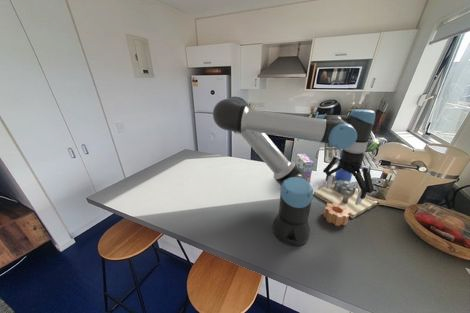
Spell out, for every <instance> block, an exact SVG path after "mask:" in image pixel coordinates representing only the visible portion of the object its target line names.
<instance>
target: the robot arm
mask: <svg viewBox="0 0 470 313" xmlns="http://www.w3.org/2000/svg"><path fill="white" fill-rule="evenodd" d="M376 115H377V114H376V112H375V111H374V110H371V109H361V108H360V109H359V108H358V109H353V110H351V113H350V114H347V115H343V114H341V115H340V114H339V115H338V114H327V113H326V114H317V115H316V116H315V117H309V116H301V115H295V114H294V115H293V114H288V113H279V112H272V111H263V110H256V109H250V105H249V103H248V101H246V100H245V99H244V98H242V97H240V96H231V97H228V98H225V99H221V100H219V101H218V102H217V103H216V104H215V105H214V108H213V111H212V118H213V121H214V122H215V125H217V127H219V128H220V129H222V130H224V131H228V132H233V133H234V134H236V135H240V136H241V137H242V138H243V139H244V140H245V141H246V143H247V144H248V145H249V146H250V147H251V148H252V150H253V151H254V152H255V153H256V155H258V156H259V158H261V160H263V162H264V163H265V164H266V166H267V167H268V168H269V169H270V170H271V171H272V173H273V178H274V180H275V181H276V182H277V183H278V185H279V186H280V193H279V194H280V195H279V204H278V205H279V206H278V213H277V215H276V217H275V219H273V223H272V233H273V234H274V236H275V237H276V238H277V239H278V240H279V241H281V243H283V244H285V245H289V246H294V247H298V246H299V247H300V246H303V245H305V244H306V243H307V242H308V241H309V240H310V237H311V236H310V235H311V229H310V226H309V215H310V211H311V206H312V201H313V199H314V188H313V186H312V185H311V182H310V183H309V182H307V176H306V173H305V172H304V170H303V169H302V168H301V167H299V166H297V165H296V162H295V161H289V160H288V158H287V157H286V156H285V155H284V154H283V152H282V151H281V150H280V149H279V148H278V146H277V145H276V144H275V143H274V142H273V140H272V139H271V138H270V137H269V135H271V136H272V135H273V136H278V137H283V138H291V139H296V140H297V139H298V140H303V141H310V142H315V143H322V144H328V145H331V147H334V148H335V149H339V150H342V154H341V158H340V155H335V156H332V160H331V161H330V162H329V164H327V166H326V167H325V168H323V173H325V174H326V177H325V181H326V184H325V187H326V189H328V188H330V187H331V184H333V178H334V175H333V174H334V173H336V171H338V170H340V169H343V170H344V171H347V172H349V173H352V176H353V177H354V178H355V180H356V182H357V184H358V186H359V188H360V189H359V190H360V191H359V193H358V196H357V200H356V203H355V204H356V205H358V204H360V203H361V201H362V199H364V198H365V197H366V194H367V193H368V194H371V193H373V192H375V188H374V184H373V180H372V175H371V167H370V166H365V165H363V161H364V158H365V152H367V151H366V150H367V148H368V147H367V146H368V144H369V139H370V136H371V134H372V130H373V126H374V125H375V120H376ZM337 162H338V163H339V162H340V164H341V165H340V166H338V165H337V166H338V167H334V166H335V165H336V164H337ZM333 167H334V168H333ZM332 168H333V169H332Z"/></svg>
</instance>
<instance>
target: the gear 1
mask: <svg viewBox="0 0 470 313" xmlns="http://www.w3.org/2000/svg"><path fill="white" fill-rule="evenodd" d="M334 183H335V186H334V188H335V191H336V192H340V194H342V195H344V193H345V191H349V192H350V196H352V194H354V193H355V190H356V188H357V186H356V184H355V183H354V182H351V181H350V182H349V181H342V180H336V181H335V182H334Z"/></svg>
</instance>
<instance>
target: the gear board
mask: <svg viewBox="0 0 470 313" xmlns="http://www.w3.org/2000/svg"><path fill="white" fill-rule="evenodd" d="M334 186H335V182H334V183H332V184H331V187H330V188H328V189H326V186H323V187H321V188H319V189H317V190H313V196H316V197H317V198H318V199H321V200H322V201H324V202H325V203H326V204H328V203H330V204H333V203H337V204H338V205H340V206H342V205H343V206H344V207H346V210H349V212H350V215H349V217H350V218H351V219H354V218H356V217H358V216H359V215H361V214H363V213H364V212H367V211H369V210H370V209H372V208H373V207H375V206H377V205H378V204H377V203H378V202H377V201H372V200H369V199H366V198H364V199H362V201H361V203H360V204H358V205H356V204H355V203H356V200H357V196H358V193H359V192H358V189H359V188H357V187H356V190H355V193H354V194H352V196H350V192H349V191H345V193H344V195H342V194H340V192H336V191H335V188H334Z"/></svg>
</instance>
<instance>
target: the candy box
mask: <svg viewBox="0 0 470 313" xmlns="http://www.w3.org/2000/svg"><path fill="white" fill-rule="evenodd" d="M295 164H296V165H297V166H299V167H301V168H302V169H303V170H304V172H305V173H306V176H307V182H309V183H310V184H311V178H312V172H313V166H314V161H313V160H312V159H310V157H308V155H307V154H306V153H296V157H295Z"/></svg>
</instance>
